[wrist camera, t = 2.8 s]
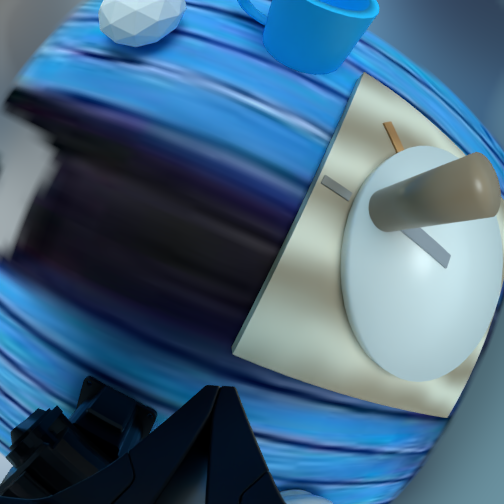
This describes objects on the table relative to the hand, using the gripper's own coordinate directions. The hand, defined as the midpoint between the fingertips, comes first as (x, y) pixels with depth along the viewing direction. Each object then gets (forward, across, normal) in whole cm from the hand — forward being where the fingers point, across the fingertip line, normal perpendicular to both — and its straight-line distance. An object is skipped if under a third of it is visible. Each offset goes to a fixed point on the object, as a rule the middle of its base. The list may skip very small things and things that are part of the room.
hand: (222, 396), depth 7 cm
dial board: (+16, -16, +1) cm, 22 cm away
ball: (+17, +10, -22) cm, 29 cm away
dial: (+14, -16, 0) cm, 21 cm away
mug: (+19, -3, -21) cm, 29 cm away
